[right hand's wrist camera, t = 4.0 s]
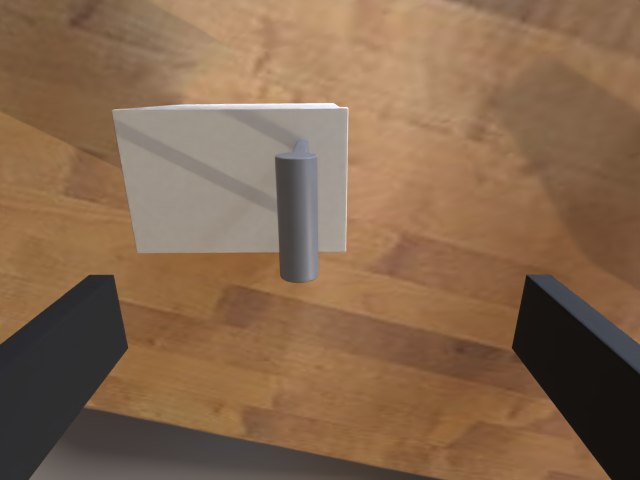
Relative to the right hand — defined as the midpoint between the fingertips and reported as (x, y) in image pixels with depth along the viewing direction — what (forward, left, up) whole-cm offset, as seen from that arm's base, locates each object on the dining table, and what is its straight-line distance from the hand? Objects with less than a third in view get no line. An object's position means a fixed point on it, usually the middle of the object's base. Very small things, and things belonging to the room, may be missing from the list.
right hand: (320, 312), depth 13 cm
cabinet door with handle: (+2, -5, -14) cm, 15 cm away
